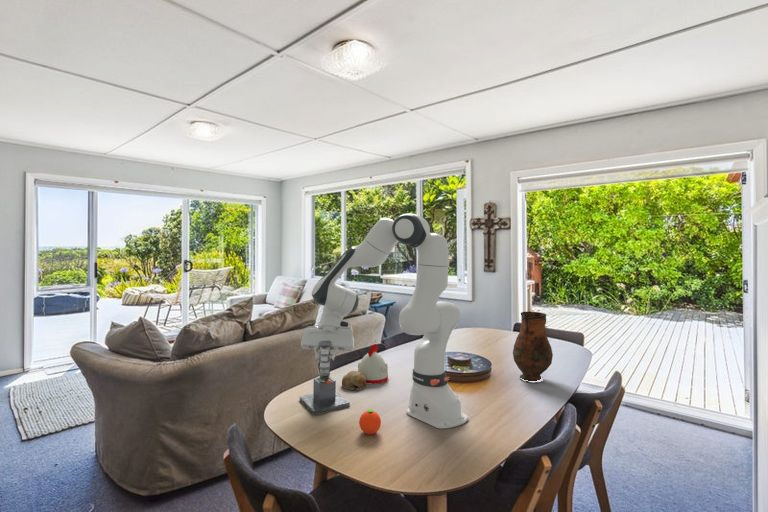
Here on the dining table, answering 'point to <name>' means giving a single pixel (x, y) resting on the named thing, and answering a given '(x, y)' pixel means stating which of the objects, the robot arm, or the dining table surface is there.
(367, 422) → the clementine
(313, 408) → the stand base
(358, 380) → the bread roll
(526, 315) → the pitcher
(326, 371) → the column
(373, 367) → the kitchen timer
